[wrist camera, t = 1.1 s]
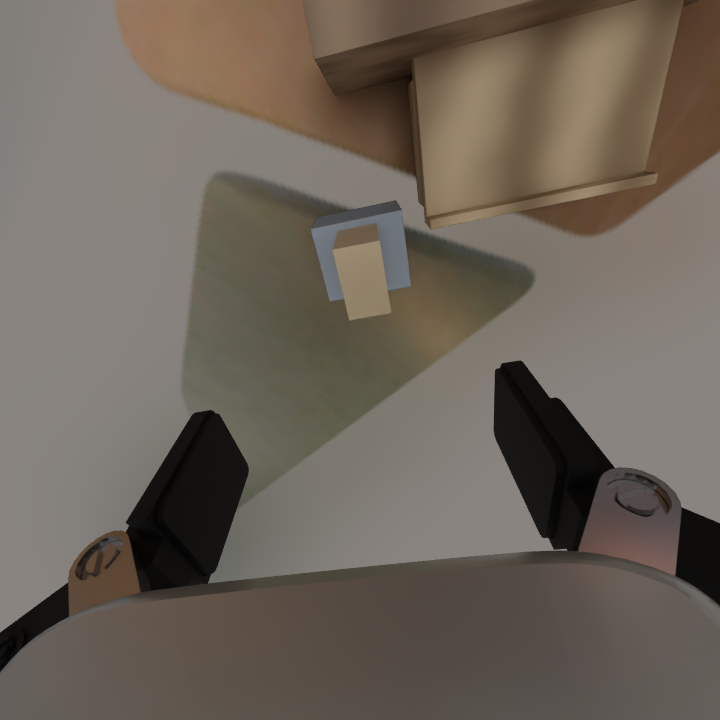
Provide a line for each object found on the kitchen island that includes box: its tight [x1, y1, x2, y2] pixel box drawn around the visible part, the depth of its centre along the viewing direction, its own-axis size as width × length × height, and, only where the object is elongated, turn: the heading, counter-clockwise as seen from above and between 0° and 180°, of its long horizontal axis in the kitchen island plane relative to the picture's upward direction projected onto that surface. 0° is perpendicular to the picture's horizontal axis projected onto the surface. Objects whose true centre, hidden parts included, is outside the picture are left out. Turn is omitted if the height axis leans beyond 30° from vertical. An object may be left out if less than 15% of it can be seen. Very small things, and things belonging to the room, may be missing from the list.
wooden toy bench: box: [302, 0, 698, 229], centre depth 20 cm, size 24×13×13 cm, turn 101°
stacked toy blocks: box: [311, 200, 411, 320], centre depth 27 cm, size 7×6×10 cm
